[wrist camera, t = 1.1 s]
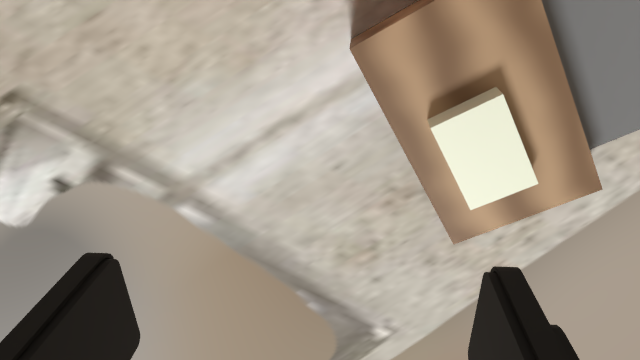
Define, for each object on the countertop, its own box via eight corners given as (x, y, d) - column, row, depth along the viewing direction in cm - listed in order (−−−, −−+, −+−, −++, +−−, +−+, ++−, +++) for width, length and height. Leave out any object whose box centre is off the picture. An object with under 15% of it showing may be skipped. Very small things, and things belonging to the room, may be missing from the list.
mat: (644, -68, 32) (647, -68, 31) (682, 110, 38) (684, 111, 37) (524, -4, 34) (525, -3, 34) (576, 152, 41) (578, 153, 40)
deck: (507, -52, 33) (524, -51, 30) (582, 168, 41) (602, 189, 38) (351, 39, 37) (349, 48, 34) (446, 221, 46) (453, 244, 42)
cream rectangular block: (496, 86, 34) (503, 94, 33) (530, 172, 38) (538, 183, 36) (427, 119, 36) (430, 128, 34) (465, 198, 40) (470, 210, 38)
